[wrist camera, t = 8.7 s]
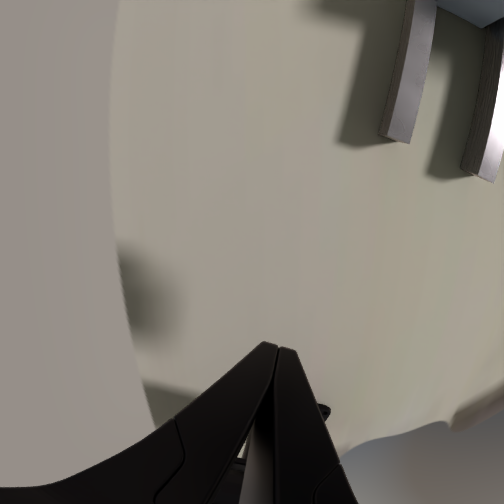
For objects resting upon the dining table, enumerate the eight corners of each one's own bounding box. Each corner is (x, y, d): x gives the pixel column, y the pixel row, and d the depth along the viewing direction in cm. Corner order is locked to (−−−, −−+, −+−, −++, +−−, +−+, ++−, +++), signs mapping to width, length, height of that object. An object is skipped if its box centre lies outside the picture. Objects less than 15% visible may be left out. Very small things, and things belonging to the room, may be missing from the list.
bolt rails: (474, 175, 15) (493, 183, 12) (378, 134, 15) (387, 135, 13) (501, 14, 10) (519, 5, 7) (410, -32, 10) (420, -49, 8)
